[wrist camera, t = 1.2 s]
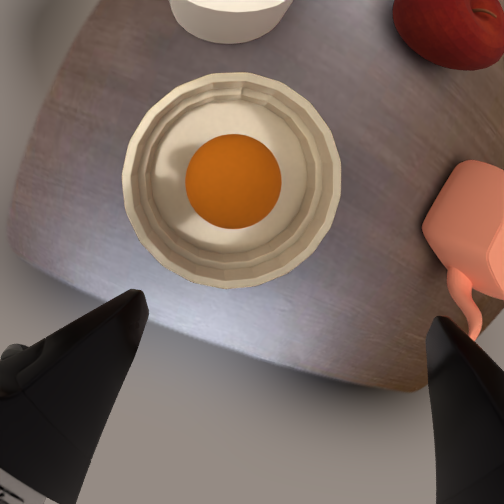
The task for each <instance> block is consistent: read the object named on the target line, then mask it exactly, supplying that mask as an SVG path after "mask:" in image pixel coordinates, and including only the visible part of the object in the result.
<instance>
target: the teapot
mask: <svg viewBox="0 0 504 504" xmlns="http://www.w3.org/2000/svg"><path fill="white" fill-rule="evenodd" d="M422 231H423V234H424V236H425V238H426V240H427V242H428V243H429V245H430V247H431V248H432V250H433V251H434V252H435V254H436V255H437V257H438V258H439V260H440V261H441V262H442V264H443V265H444V266H445V267H446V269H447V270H448V272H447V286H448V290H449V292H450V294H451V296H452V298H453V300H454V301H455V303H456V304H457V305H458V306H459V308H460V309H461V310H462V312H463V313H464V315H465V316H466V318H467V321H468V324H469V334H468V336H469V337H470V338H471V339H472V340H474V341H475V340H476V338H477V336H478V335H479V332H480V330H481V327H482V315H481V312H480V310H479V309H478V307H477V306H476V304H475V303H474V301H473V300H472V297H471V292H472V288H473V289H475V290H477V291H479V292H481V293H483V294H486V295H488V296H491V297H494V298H498V299H501V300H504V170H502V169H500V168H498V167H496V166H493V165H491V164H488V163H485V162H481V161H476V160H467V161H464V162H461V163H459V164H458V165H457V166H456V167H455V168H454V170H453V171H452V173H451V175H450V176H449V178H448V179H447V181H446V183H445V184H444V186H443V188H442V189H441V191H440V193H439V194H438V196H437V198H436V200H435V201H434V203H433V205H432V207H431V208H430V210H429V212H428V214H427V216H426V218H425V220H424V222H423V224H422Z"/></svg>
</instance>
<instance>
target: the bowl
mask: <svg viewBox="0 0 504 504" xmlns="http://www.w3.org/2000/svg"><path fill="white" fill-rule="evenodd" d="M227 134H241V135H246V136H249V137H252V138H254V139H256V140H258V141H260V142H261V143H263V144H264V145H265V146H266V147H267V148H268V149H269V150H270V151H271V152H272V153H273V155H274V156H275V158H276V160H277V162H278V165H279V168H280V171H281V177H282V185H281V192H280V196H279V198H278V201H277V203H276V205H275V206H274V208H273V209H272V211H271V212H270V213H269V214H268V215H267V216H266V217H265V218H264V219H262V220H261V221H259V222H258V223H256V224H254V225H252V226H249V227H246V228H242V229H225V228H220V227H217V226H214V225H212V224H210V223H208V222H207V221H205V220H204V219H203V218H202V217H200V216H199V215H198V214H197V213H196V211H195V210H194V209H193V207H192V206H191V204H190V202H189V199H188V196H187V193H186V187H185V177H186V171H187V167H188V165H189V162H190V160H191V158H192V157H193V155H194V154H195V152H196V151H197V150H198V149H199V148H200V147H201V146H202V145H203V144H205V143H206V142H208V141H209V140H211V139H213V138H215V137H218V136H221V135H227ZM340 162H341V161H340V157H339V154H338V151H337V148H336V145H335V142H334V139H333V136H332V133H331V131H330V129H329V127H328V126H327V125H326V123H325V122H324V120H323V119H322V118H321V116H320V115H319V114H318V112H317V111H316V109H315V108H314V107H313V105H312V104H311V103H310V102H309V101H308V100H306V99H305V98H303V97H302V96H301V95H299V94H298V93H296V92H295V91H294V90H292V89H291V88H289V87H288V86H286V85H285V84H283V83H281V82H279V81H276V80H272V79H269V78H266V77H263V76H259V75H256V74H252V73H247V72H236V73H213V74H209V75H206V76H203V77H200V78H198V79H195V80H192V81H190V82H187V83H185V84H182V85H180V86H178V87H176V88H174V89H173V90H172V91H171V92H169V93H168V94H167V95H166V96H165V97H163V98H162V99H161V100H160V101H159V102H157V103H156V104H155V105H154V106H153V107H151V108H150V109H149V111H147V113H146V115H145V116H144V118H143V119H142V121H141V123H140V124H139V126H138V127H137V129H136V131H135V132H134V134H133V136H132V138H131V139H130V142H129V144H128V148H127V153H126V157H125V162H124V166H123V171H122V186H123V195H124V204H125V211H126V213H127V216H128V218H129V220H130V222H131V224H132V226H133V228H134V231H135V233H136V235H137V237H138V239H139V241H140V243H141V244H142V245H143V246H144V247H145V248H146V249H147V250H148V251H149V252H150V253H151V254H152V255H153V257H154V258H155V259H156V260H157V261H158V262H159V263H160V264H161V265H162V266H164V267H165V268H167V269H169V270H170V271H172V272H174V273H176V274H178V275H179V276H181V277H183V278H185V279H187V280H189V281H190V282H193V283H197V284H202V285H207V286H212V287H217V288H222V289H232V288H242V287H253V286H258V285H261V284H263V283H266V282H268V281H270V280H273V279H275V278H278V277H280V276H283V275H285V274H287V273H289V272H290V271H291V270H293V269H294V268H295V267H296V266H298V265H299V264H300V263H301V262H303V261H304V260H305V259H306V258H308V257H309V256H310V255H311V254H312V253H313V252H314V251H315V249H316V248H317V246H318V245H319V244H320V242H321V241H322V239H323V238H324V236H325V235H326V233H327V232H328V230H329V229H330V227H331V225H332V222H333V219H334V216H335V213H336V210H337V206H338V203H339V200H340V197H341V163H340Z"/></svg>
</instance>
